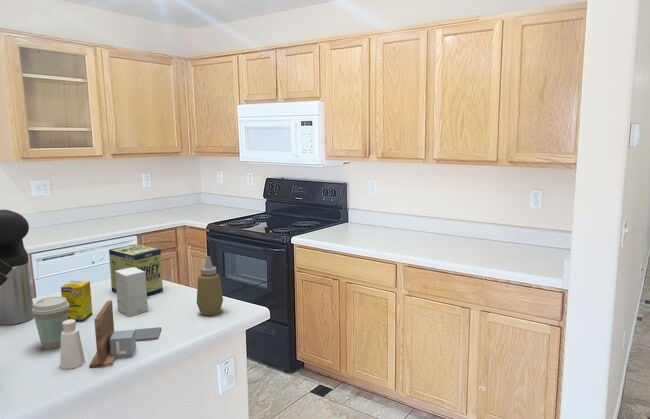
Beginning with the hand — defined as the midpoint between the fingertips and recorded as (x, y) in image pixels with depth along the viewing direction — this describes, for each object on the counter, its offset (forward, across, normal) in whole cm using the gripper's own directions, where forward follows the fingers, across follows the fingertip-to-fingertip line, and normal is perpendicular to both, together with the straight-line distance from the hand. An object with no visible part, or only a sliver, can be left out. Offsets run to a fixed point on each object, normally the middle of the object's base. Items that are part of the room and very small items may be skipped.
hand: (7, 276), depth 105 cm
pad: (+37, -9, +4) cm, 39 cm away
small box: (+36, -31, +3) cm, 48 cm away
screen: (+30, -2, -3) cm, 30 cm away
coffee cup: (+22, -14, -12) cm, 29 cm away
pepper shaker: (+25, 0, -9) cm, 26 cm away
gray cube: (+33, 0, 0) cm, 33 cm away
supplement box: (+26, -32, -8) cm, 41 cm away
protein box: (+39, -50, +5) cm, 63 cm away
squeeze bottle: (+51, -18, +18) cm, 57 cm away
